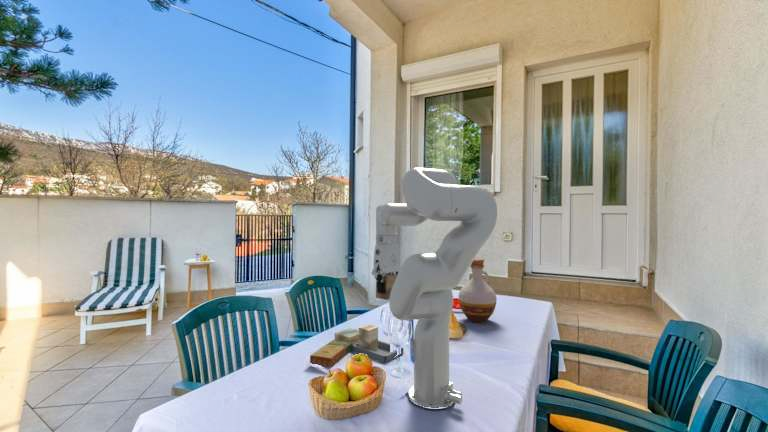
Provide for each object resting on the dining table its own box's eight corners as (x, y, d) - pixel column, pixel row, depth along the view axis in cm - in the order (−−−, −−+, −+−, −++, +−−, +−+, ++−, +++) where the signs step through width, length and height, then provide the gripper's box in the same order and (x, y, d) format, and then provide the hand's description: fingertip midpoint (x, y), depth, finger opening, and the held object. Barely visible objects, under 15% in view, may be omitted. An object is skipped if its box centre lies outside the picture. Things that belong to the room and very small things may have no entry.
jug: (474, 312, 173) (474, 255, 174) (505, 320, 160) (505, 258, 160) (450, 319, 161) (450, 258, 161) (482, 328, 147) (482, 261, 148)
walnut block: (395, 297, 116) (396, 274, 116) (386, 299, 112) (387, 276, 112) (384, 295, 119) (385, 272, 119) (375, 297, 115) (376, 274, 116)
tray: (403, 356, 117) (403, 347, 117) (385, 365, 109) (385, 356, 109) (369, 345, 127) (369, 337, 127) (351, 353, 119) (351, 345, 119)
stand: (364, 345, 127) (364, 331, 127) (349, 351, 121) (349, 337, 121) (349, 340, 132) (349, 327, 132) (334, 346, 126) (334, 332, 126)
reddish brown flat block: (309, 367, 108) (309, 354, 108) (332, 350, 123) (332, 338, 123) (331, 371, 105) (331, 358, 106) (353, 352, 121) (353, 341, 121)
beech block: (377, 348, 121) (378, 327, 121) (368, 353, 117) (368, 330, 117) (367, 345, 124) (367, 324, 124) (358, 349, 120) (358, 327, 120)
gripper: (379, 241, 107) (379, 297, 107) (409, 239, 120) (409, 289, 120) (362, 240, 112) (362, 294, 111) (392, 238, 125) (392, 286, 125)
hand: (386, 291), depth 116 cm, fingers closed on walnut block, 5 cm apart
